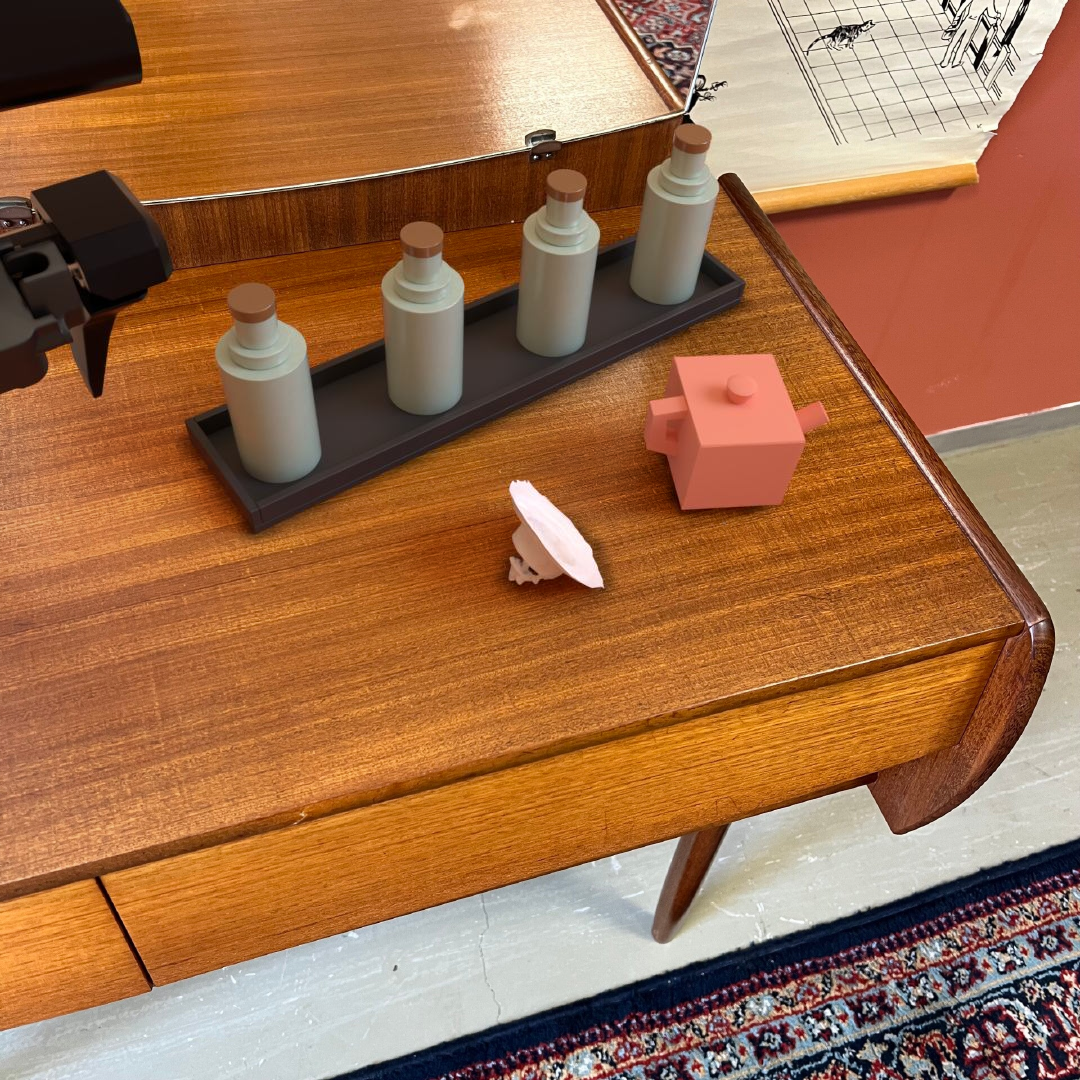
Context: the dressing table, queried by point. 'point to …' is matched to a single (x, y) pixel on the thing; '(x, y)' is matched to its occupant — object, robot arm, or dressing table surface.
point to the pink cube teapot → (729, 430)
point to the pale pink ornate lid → (548, 541)
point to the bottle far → (675, 220)
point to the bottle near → (423, 324)
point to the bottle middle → (557, 269)
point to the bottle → (268, 388)
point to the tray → (488, 386)
